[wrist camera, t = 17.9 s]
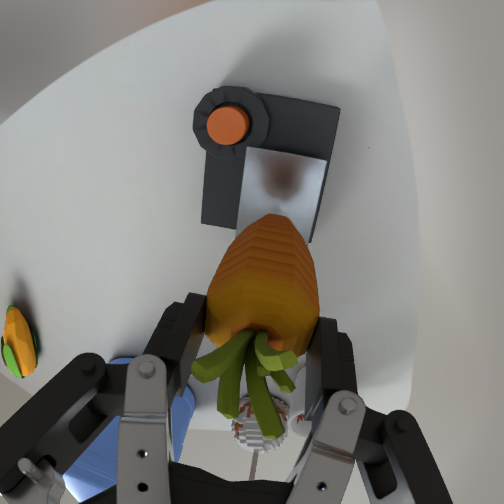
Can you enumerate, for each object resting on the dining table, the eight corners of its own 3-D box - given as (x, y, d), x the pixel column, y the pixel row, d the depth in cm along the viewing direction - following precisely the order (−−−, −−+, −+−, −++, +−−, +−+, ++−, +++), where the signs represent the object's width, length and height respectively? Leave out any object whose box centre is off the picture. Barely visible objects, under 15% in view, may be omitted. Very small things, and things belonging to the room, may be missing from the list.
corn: (0, 375, 44) (-19, 313, 34) (17, 348, 50) (6, 283, 40) (29, 393, 45) (15, 337, 35) (44, 365, 51) (39, 304, 41)
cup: (365, 390, 40) (369, 438, 33) (313, 404, 43) (312, 451, 36) (338, 345, 36) (342, 400, 29) (279, 364, 39) (274, 417, 32)
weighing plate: (247, 145, 23) (246, 146, 23) (326, 159, 23) (327, 160, 22) (235, 238, 27) (234, 240, 27) (305, 251, 27) (305, 253, 26)
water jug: (188, 364, 41) (124, 555, 17) (202, 420, 49) (162, 564, 25) (94, 346, 43) (11, 497, 19) (122, 402, 51) (69, 528, 27)
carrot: (231, 193, 21) (136, 374, 8) (305, 178, 20) (313, 369, 7) (250, 256, 23) (198, 451, 11) (318, 245, 22) (328, 451, 9)
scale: (207, 83, 23) (196, 83, 21) (339, 103, 23) (344, 105, 20) (196, 215, 30) (186, 230, 27) (310, 236, 29) (311, 252, 27)
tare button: (214, 103, 22) (208, 104, 20) (251, 107, 22) (248, 109, 20) (210, 138, 23) (204, 142, 22) (246, 143, 23) (243, 147, 22)
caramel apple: (232, 391, 43) (210, 483, 30) (285, 391, 42) (275, 488, 29) (243, 418, 47) (227, 499, 34) (291, 418, 45) (283, 503, 32)
